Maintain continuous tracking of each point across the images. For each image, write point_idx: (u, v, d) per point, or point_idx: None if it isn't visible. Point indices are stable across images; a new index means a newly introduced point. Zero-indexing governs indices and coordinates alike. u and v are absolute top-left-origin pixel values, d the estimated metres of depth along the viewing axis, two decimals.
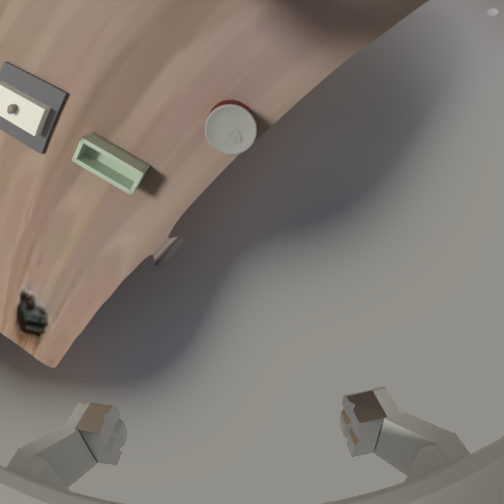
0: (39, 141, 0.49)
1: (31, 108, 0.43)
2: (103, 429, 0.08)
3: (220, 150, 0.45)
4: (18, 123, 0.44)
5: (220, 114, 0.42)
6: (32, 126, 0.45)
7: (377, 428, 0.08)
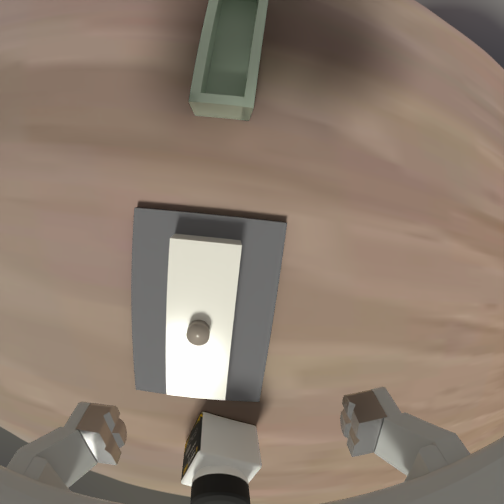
0: (258, 237, 0.28)
1: (180, 277, 0.26)
2: (104, 429, 0.08)
3: None
4: (227, 304, 0.27)
5: None
6: (220, 259, 0.26)
7: (377, 428, 0.08)
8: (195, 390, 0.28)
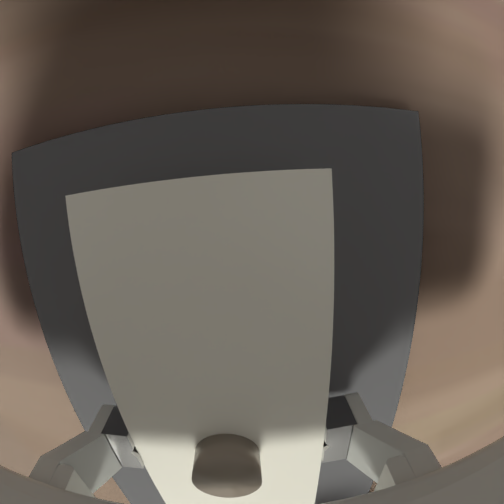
0: (357, 154, 0.09)
1: (130, 327, 0.07)
2: None
3: None
4: (303, 384, 0.07)
5: None
6: (259, 238, 0.07)
7: (347, 435, 0.08)
8: None
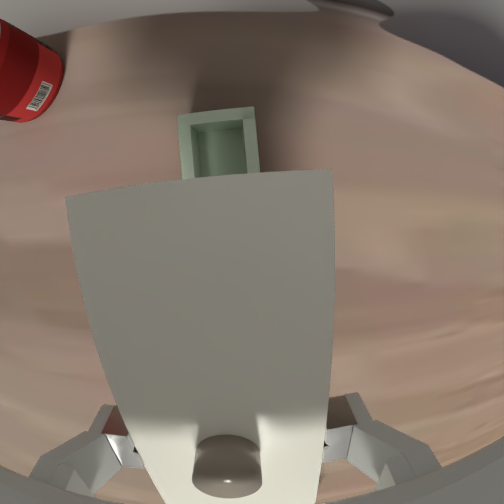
0: None
1: (130, 328, 0.07)
2: None
3: None
4: (304, 385, 0.07)
5: None
6: (259, 239, 0.07)
7: (347, 435, 0.08)
8: None
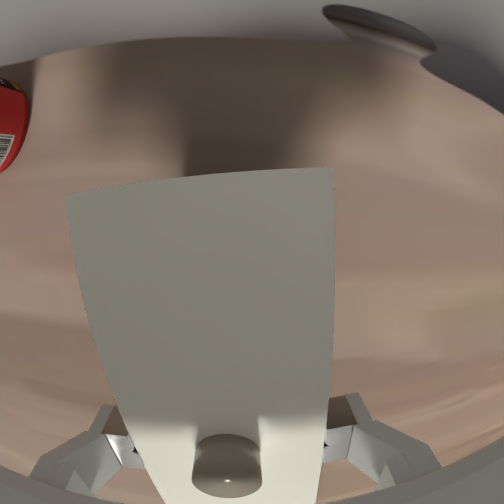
0: None
1: (130, 327, 0.07)
2: None
3: None
4: (304, 384, 0.07)
5: None
6: (259, 237, 0.07)
7: (347, 435, 0.08)
8: None
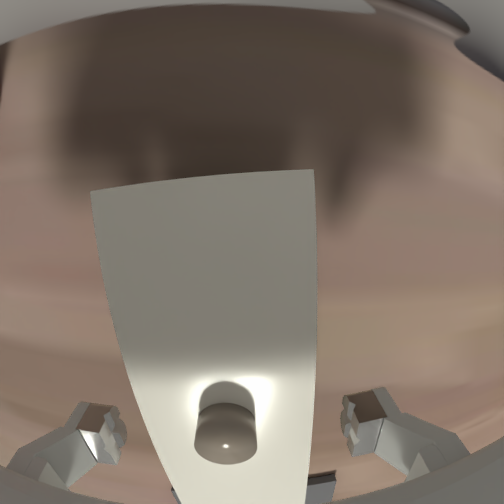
0: (307, 493, 0.20)
1: (144, 303, 0.08)
2: (103, 429, 0.08)
3: None
4: (293, 355, 0.09)
5: None
6: (253, 226, 0.08)
7: (377, 428, 0.08)
8: None
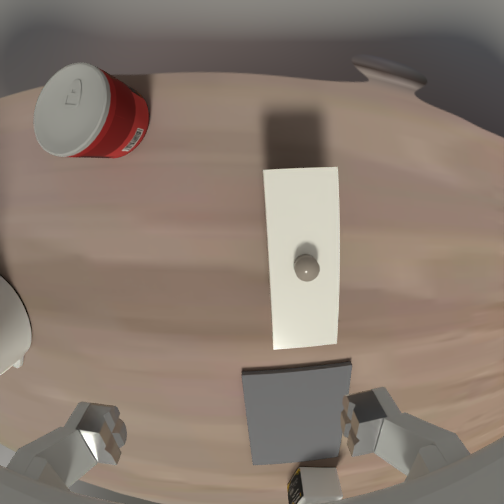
0: (333, 376, 0.37)
1: (280, 210, 0.25)
2: (103, 429, 0.08)
3: (103, 90, 0.19)
4: (331, 231, 0.25)
5: (58, 142, 0.20)
6: (319, 184, 0.24)
7: (377, 428, 0.08)
8: (305, 337, 0.28)
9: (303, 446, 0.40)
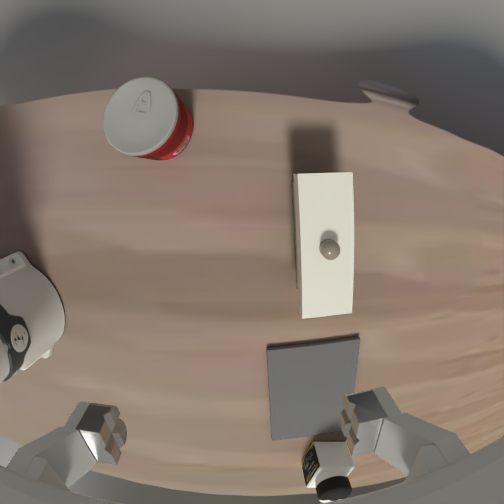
0: (344, 349, 0.43)
1: (310, 205, 0.32)
2: (103, 429, 0.08)
3: (173, 103, 0.25)
4: (348, 222, 0.32)
5: (129, 143, 0.26)
6: (338, 185, 0.31)
7: (377, 428, 0.08)
8: (327, 308, 0.34)
9: (317, 418, 0.47)
